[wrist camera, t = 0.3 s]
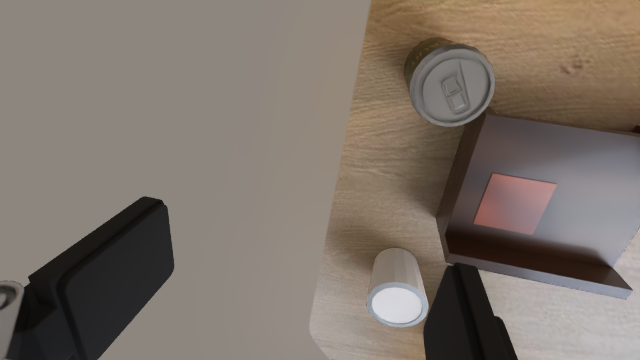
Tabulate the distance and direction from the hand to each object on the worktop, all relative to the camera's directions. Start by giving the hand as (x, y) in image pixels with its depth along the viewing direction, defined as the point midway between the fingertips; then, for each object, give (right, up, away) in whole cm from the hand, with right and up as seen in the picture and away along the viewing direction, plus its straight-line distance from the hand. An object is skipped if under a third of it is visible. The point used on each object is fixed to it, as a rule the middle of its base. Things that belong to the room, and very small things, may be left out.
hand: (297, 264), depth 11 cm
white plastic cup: (+11, -8, +32) cm, 35 cm away
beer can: (+12, +14, +21) cm, 28 cm away
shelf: (+23, +3, +24) cm, 33 cm away
